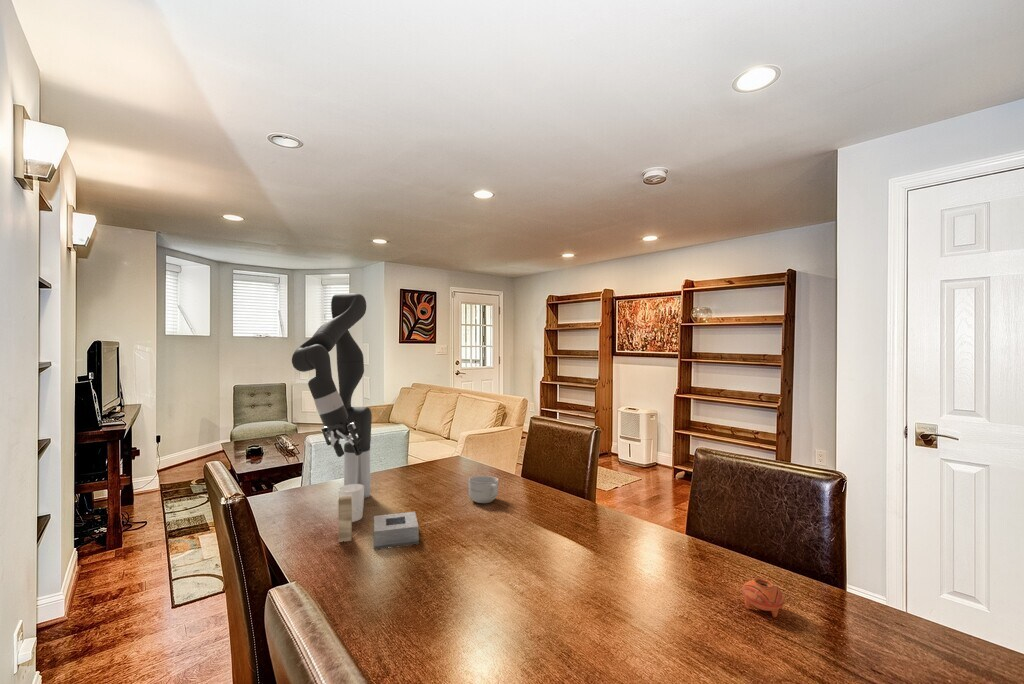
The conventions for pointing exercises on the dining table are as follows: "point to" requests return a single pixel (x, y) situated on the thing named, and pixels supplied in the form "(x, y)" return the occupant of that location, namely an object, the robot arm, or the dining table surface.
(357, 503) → the white cup
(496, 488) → the teacup
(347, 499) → the square wooden peg
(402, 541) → the grey square socket block
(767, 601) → the footed terracotta jar
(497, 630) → the dining table surface
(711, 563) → the dining table surface
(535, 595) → the dining table surface
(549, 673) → the dining table surface
